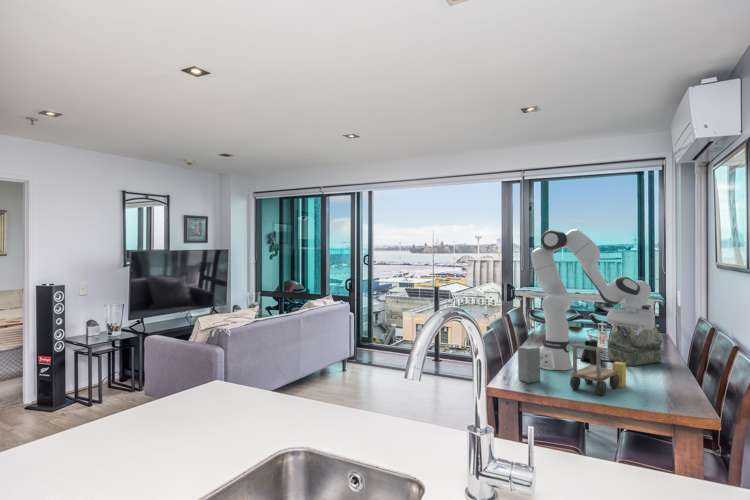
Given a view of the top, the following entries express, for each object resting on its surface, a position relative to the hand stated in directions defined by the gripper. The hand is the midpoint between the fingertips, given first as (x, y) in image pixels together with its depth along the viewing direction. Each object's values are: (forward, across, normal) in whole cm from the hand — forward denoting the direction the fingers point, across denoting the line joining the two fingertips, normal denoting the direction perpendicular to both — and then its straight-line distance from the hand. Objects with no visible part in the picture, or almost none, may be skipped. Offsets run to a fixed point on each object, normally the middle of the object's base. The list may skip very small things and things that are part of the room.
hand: (625, 332), depth 208 cm
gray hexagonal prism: (+40, -30, -5) cm, 50 cm away
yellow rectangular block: (+22, +1, +10) cm, 24 cm away
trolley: (+31, -4, +1) cm, 32 cm away
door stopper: (+1, -24, +32) cm, 41 cm away
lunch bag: (-13, -9, +46) cm, 48 cm away
